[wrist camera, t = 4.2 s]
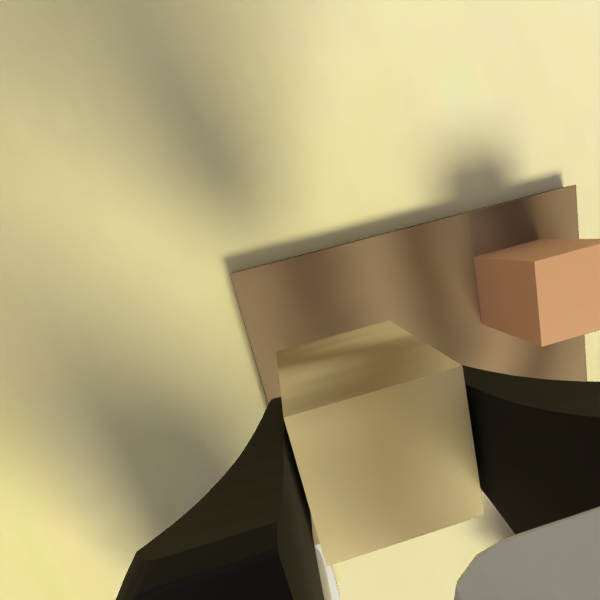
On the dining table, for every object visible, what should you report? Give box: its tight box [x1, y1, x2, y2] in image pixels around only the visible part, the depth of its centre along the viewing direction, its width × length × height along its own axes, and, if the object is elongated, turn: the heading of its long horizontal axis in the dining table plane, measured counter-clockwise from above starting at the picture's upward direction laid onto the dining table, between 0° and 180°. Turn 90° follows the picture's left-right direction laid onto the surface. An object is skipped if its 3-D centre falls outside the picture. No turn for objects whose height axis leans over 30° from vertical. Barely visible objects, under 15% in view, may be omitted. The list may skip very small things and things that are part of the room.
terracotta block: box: [473, 239, 600, 347], centre depth 18 cm, size 4×4×4 cm
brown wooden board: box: [230, 185, 587, 545], centre depth 21 cm, size 22×20×1 cm
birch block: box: [276, 320, 484, 566], centre depth 10 cm, size 4×4×4 cm
